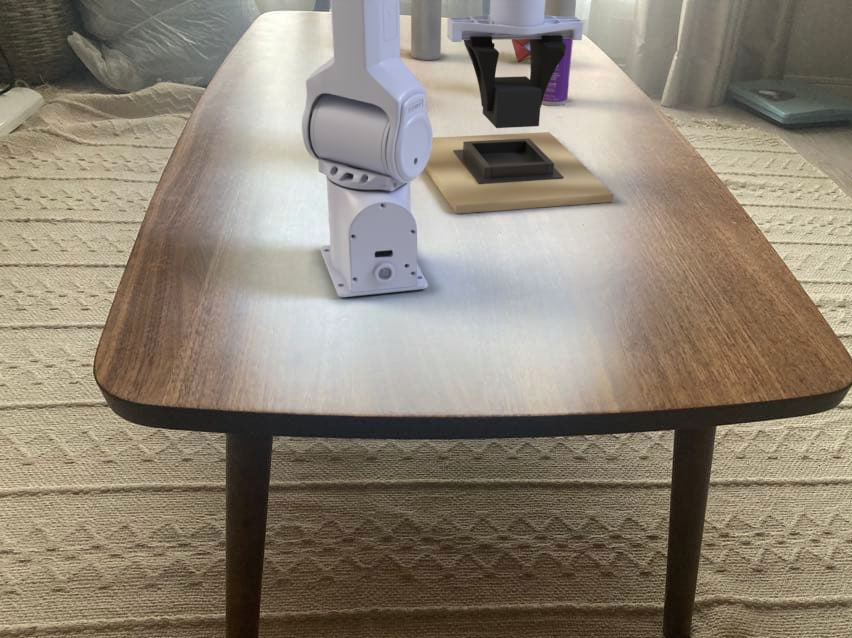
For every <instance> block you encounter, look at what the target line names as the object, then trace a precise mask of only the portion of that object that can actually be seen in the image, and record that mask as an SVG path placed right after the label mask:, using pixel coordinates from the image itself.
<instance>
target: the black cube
mask: <svg viewBox="0 0 852 638" xmlns="http://www.w3.org/2000/svg"><path fill="white" fill-rule="evenodd" d="M541 93H542V90H541V89H540V88H539V87H538V86H537V85H535V84H534V83H533V82H532V81H531V80H530V77H528V76H523V75H522V76H495V82H494V103H493V110H492V111H486V110H485V109H484V108H483V107H482V114H483V115H484V117H485V118H486V119H487V120H488V121H489V122H490V123H491V124H492V125H493V127H494V128H495V129H509V128H529V127H531V128H532V127H533V128H534V127H539V126H540V119H541V108H540V106H541V107H542V104H541Z"/></svg>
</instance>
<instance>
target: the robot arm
mask: <svg viewBox="0 0 852 638" xmlns="http://www.w3.org/2000/svg"><path fill="white" fill-rule="evenodd" d="M400 3H401V2H400V0H330V8H331V9H330V10H331V11H330V12H331V27H332V29H331V30H332V45H333V46H332V47H333V57H332V58H330V59H329V60H327V61H326V62H325V63H323V64H322V65H320V66H319V67H318V68H316V69H315V70H314V71H313V72H312V73H311V74H310V75H309V77H308V78H307V79H306V80H305V87H306V89H305V90H306V100H305V107H304V110H303V114H302V119H301V120H302V121H301V134H302V139H303V144H304V147H305V149H306V151H307V153H308V154H309V156H310V157H312V158H313V159H314V160H317V164H318V165H317V166H318V167H317V168H318V172H319V173H320V174H324V175H325V176H326V191H327V192H326V193H327V209H328V211H327V212H328V227H329V243H330V244H329V245H324V246H321V247H320V253H321V255H322V258H323V261H324V263H325V266H326V269H327V271H328V273H329V276H330V279H331V282H332V284H333V286H334V289H335V292H336V294H337V296H338V297H340V298H348V297H361V296H368V295H377V294H378V295H379V294H389V293H390V294H391V293H399V292H406V291H407V292H408V291H417V290H425V289H427V288H428V286H429V282H428V281H427V279H426V277H425V276H424V274H423V272H422V269H421V268H420V266H419V264H418V225H417V221H416V218H415V215H414V214H413V211H412V209H411V199H412V198H411V191H412V190H411V189H412V188H411V187H412V186H411V183H412V182H413V181H414V180H415V179H417V178H418V177H419V176H420V174H422V172H423V171H424V170H425V166H426V164H427V162H428V160H429V157H430V154H431V149H432V141H433V138H434V133H433V128H432V123H431V121H430V118H429V114H428V109H427V96H426V95H427V94H426V93H427V89H426V88H425V86H424V85H423V84H422V83H421V81H420V80H419V79H418V78H417V76H416V75H415V74H414V73H413V72H412V71H411V69H409V68H408V66H407V65H406V64H405V62H404V61H403V60H402V58H401V18H400V17H401V13H400V12H401V11H400V10H401V9H400ZM544 12H545V0H489V13H488V14H479V15H469V16H461V17H447V21H446V24H447V25H446V37H447V39H448V40H450V41H451V42H452V43H461V42H463V43H464V47H465V49H466V51H467V52H468V56H469V59H470V61H471V64H472V66H473V69H474V73H475V75H476V80H477V84H478V88H479V95H480V102H481V105H480V106H481V107H482V109H483V108H484V109H485V110H486V111H492V110H493V103H494V82H495V77H496V72H497V65H498V60H499V57H500V52H499V51H498V49H496V48H495V43H494V42H493V41H494V40H495V41H497V40H500V41H501V40H511V39H529V40H530V56H529V58H530V57H531V58H530V75H529V79H530V80H531V81H532V82H533V83H534V84H535V85H537V86H538V87H539V88H540V89H541V90H542V93H541V106H540V109H542V105H543V104H542V101H543V98H544V94H545V92H546V89H547V86H548V84H549V81H550V79H551V77H552V75H553V73H554V71H555V69H556V67H557V66H558V64H559V63H560V61H561V60H562V58H563V57H564V55H565V52H566V45H565V44H564V43H563V42H562V41H563V39H572V40H573V41H582V40H583V30H584V21H583V20H582V19H580V18H578V17H577V16H575V17H559V16H546V15H544Z"/></svg>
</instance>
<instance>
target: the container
mask: <svg viewBox="0 0 852 638" xmlns="http://www.w3.org/2000/svg"><path fill="white" fill-rule="evenodd" d="M576 7H577V0H545V12H544V15H546V16H559V17H576ZM562 42H563V43H564V44H565V45H566V52H565V55H564V57H563V58H562V60H561V61H560V63H559V64H558V66H557V67H556V69H555V71H554V73H553V75H552V77H551V79H550V81H549V84H548V86H547V89H546V92H545V94H544V98H543V101H542V104H541V105H544V106H550V107H552V106H554V107H558V106H564V105H566V104H567V103H568V97H569V96H568V94H569V85H570V77H571V65H572V64H571V63H572V55H573V45H574V40H572V39H563V41H562Z"/></svg>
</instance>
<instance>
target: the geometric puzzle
mask: <svg viewBox="0 0 852 638" xmlns="http://www.w3.org/2000/svg"><path fill="white" fill-rule="evenodd" d="M510 40H511V43H512V46H513V50H514V54H515V56H516V61H517V63H522V64H525V62H523V61H526V60H529V59H531V57H530V40H529V39H510Z"/></svg>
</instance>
